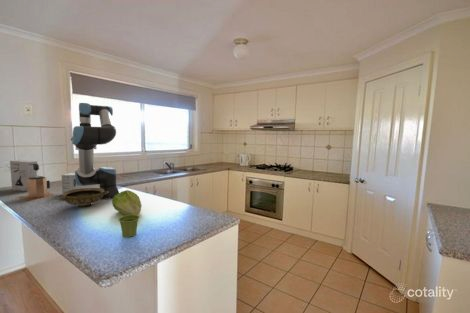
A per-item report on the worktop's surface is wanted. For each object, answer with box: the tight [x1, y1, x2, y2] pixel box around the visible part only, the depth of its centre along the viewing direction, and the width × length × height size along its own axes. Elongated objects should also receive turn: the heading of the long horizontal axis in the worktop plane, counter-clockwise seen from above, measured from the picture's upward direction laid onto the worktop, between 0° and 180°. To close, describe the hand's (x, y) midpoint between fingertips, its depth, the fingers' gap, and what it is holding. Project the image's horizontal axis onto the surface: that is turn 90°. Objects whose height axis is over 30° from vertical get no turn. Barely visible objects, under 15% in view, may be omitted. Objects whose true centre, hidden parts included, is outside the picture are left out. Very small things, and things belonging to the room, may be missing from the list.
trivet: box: [17, 191, 58, 202], centre depth 170 cm, size 18×18×1 cm
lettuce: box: [111, 189, 142, 216], centre depth 140 cm, size 14×24×15 cm
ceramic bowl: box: [56, 187, 109, 208], centre depth 153 cm, size 30×24×10 cm
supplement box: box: [61, 172, 82, 194], centre depth 181 cm, size 10×9×17 cm
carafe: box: [27, 175, 51, 198], centre depth 170 cm, size 10×13×15 cm
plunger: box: [33, 162, 40, 177], centre depth 168 cm, size 7×7×24 cm
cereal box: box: [9, 159, 39, 192], centre depth 192 cm, size 22×8×25 cm, turn 73°
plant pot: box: [117, 214, 140, 238], centre depth 110 cm, size 9×9×9 cm
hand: (86, 149), depth 180 cm, fingers open, 13 cm apart
